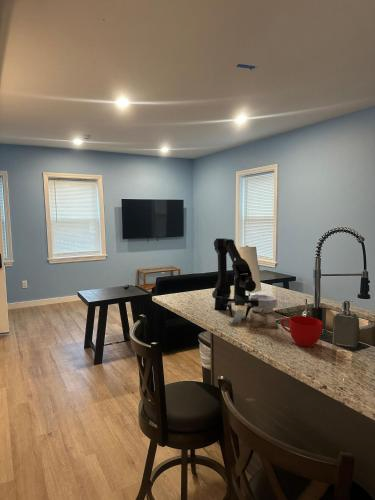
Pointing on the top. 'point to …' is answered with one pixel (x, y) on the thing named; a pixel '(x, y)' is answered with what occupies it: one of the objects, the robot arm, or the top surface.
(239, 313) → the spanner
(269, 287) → the top surface
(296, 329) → the ceramic cup
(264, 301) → the paper bowls
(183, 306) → the top surface
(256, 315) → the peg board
